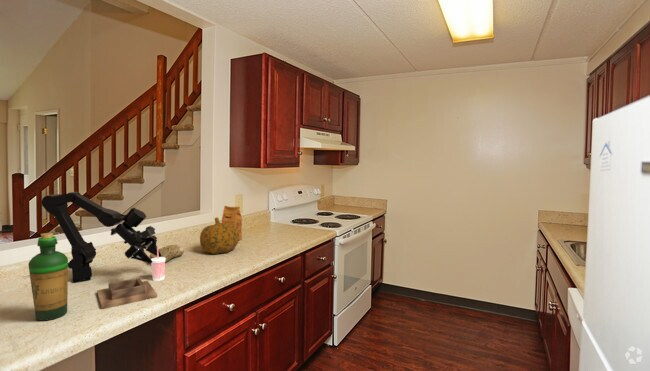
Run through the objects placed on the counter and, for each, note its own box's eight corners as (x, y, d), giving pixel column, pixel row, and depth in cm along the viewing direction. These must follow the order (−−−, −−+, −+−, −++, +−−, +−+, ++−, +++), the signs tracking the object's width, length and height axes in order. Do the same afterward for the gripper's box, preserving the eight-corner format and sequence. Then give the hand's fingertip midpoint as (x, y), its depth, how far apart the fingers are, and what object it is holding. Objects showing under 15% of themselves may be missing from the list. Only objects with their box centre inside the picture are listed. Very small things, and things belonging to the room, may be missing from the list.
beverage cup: (154, 276, 158) (153, 246, 157) (168, 276, 159) (167, 245, 158) (148, 281, 152) (147, 249, 151) (163, 281, 153) (162, 249, 151)
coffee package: (228, 237, 235) (227, 204, 233) (244, 239, 230) (243, 205, 228) (218, 240, 225) (217, 206, 223) (235, 242, 221) (234, 207, 219)
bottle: (26, 325, 113) (20, 238, 110) (37, 312, 123) (32, 231, 120) (66, 319, 117) (62, 235, 115) (74, 306, 127) (70, 229, 124)
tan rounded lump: (170, 256, 195) (138, 258, 177) (174, 242, 195) (143, 243, 177) (187, 264, 190) (156, 266, 172) (191, 249, 190) (161, 251, 172)
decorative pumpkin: (242, 252, 195) (238, 216, 193) (202, 259, 188) (197, 222, 186) (238, 245, 214) (234, 212, 212) (201, 251, 207) (197, 217, 205)
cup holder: (102, 309, 125) (101, 297, 125) (97, 293, 139) (96, 282, 139) (157, 297, 136) (156, 286, 135) (147, 283, 150) (147, 273, 150)
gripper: (131, 225, 144) (160, 252, 145) (151, 217, 162) (177, 241, 164) (112, 245, 144) (141, 271, 146) (135, 234, 163) (160, 258, 164)
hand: (156, 259), depth 155 cm, fingers open, 9 cm apart
